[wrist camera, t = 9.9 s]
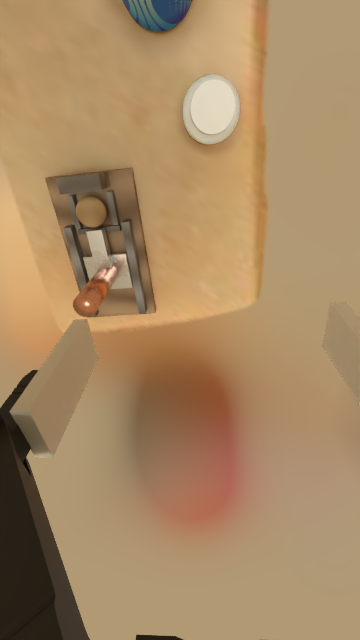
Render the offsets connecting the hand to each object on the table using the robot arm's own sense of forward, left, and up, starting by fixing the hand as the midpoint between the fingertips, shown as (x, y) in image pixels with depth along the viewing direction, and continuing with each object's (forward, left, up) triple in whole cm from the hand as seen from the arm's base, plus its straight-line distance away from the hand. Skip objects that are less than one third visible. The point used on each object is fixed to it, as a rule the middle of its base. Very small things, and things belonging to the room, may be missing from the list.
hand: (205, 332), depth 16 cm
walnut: (-2, -16, -34) cm, 37 cm away
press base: (+5, -16, -35) cm, 39 cm away
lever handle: (+6, -16, -33) cm, 37 cm away
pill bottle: (-12, +2, -35) cm, 37 cm away
